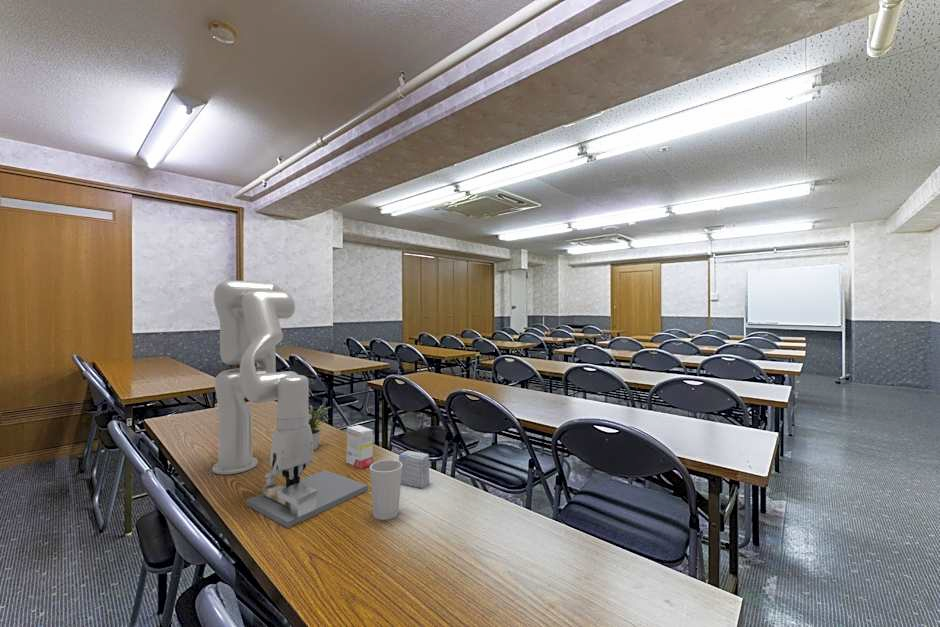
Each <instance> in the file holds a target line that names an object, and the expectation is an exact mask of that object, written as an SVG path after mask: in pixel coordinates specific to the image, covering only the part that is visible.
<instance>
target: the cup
mask: <svg viewBox="0 0 940 627" xmlns="http://www.w3.org/2000/svg"><path fill="white" fill-rule="evenodd" d="M369 471H370V472H369V474H370V484H371V497H372V498H371V499H372V500H371V501H372V513H373V514H372V516H373V517H374V519H376V520H380V521H386V520H387V521H388V520H391V519H394V518H396V517H397V516H398V515H399V514H398V513H400V499H401V498H400V497H401V496H400V495H401V485H402V484H401V475H402V463H401V462H399V460H397V459H396V460H395V459H383V460H377V461H375V462H373V464H371V465H370V466H369Z"/></svg>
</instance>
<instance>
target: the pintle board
mask: <svg viewBox="0 0 940 627" xmlns="http://www.w3.org/2000/svg"><path fill="white" fill-rule="evenodd" d="M272 472H273V471H271V472H268V473H265V475H264V478H265V479H266V484H267V486H271V485H273V484H274V483H275V482H274V481H275V480H274V478H275V477H276V476H275V475H273V474H272ZM300 483H302V484H304V485H306V486H309V487H311V488H313V489H316V490H318V497H316V509H315V510H313V511H311V512H308V513H306V514H304V515H302V516H300V517H296V516H294V515H292V514H291V508H289V507H287V506H285V505H284V504H282V503H279V502H277V501H275V500H273V499H271V498H269V497H267V496H263V493H260V494H258V495H255V496H252V497H249V498H247V499H245V505H247V506H246V507H248V506H249V507H248V508H250V507H251V508H250V509H252V508H253V509H254V511H255V510H256V511H255V512H257V511H258V512H257V513H259V512H260V513H259V514H261V515H263V516H264V515H265V517H266V518H268V519H270V520H272V521H274V522H276V523H277V524H280V525H281V526H283V527H285V528H287V529H290V528H291V526H292V527H294V526H296V525H298V524H301V523H302V522H304V520H305V521H306V519H307V520H308V519H311V518H313V517H316V516H317V515H319V514H321V513H324V512H326V511H328V510H330V509H332V508H334V507H336V506H338V505H341V504H343V503H345V502H347V501H349V500H351V499H354V498H355V497H357V496H359V494H360V495H362V494H364V493H366V492H368V490H369V485H368V484H366V483H362V482H360V481H357V480H355V479H352V478H349V477H346V476H343V475H340V474H338V473H335V472H334V471H333V472H332V471H330V470H327V469H324V470H322V471H319V472H316V473H314V474H311V475H308V476H305V477H304V478H300ZM281 486H282V487H284V488H286V484H285V485H281ZM363 492H364V493H363ZM361 493H362V494H361ZM253 509H252V510H253ZM301 521H302V522H301ZM297 523H298V524H297ZM295 524H296V525H295ZM293 525H294V526H293ZM289 527H290V528H289Z"/></svg>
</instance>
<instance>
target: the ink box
mask: <svg viewBox="0 0 940 627" xmlns="http://www.w3.org/2000/svg"><path fill="white" fill-rule="evenodd" d="M373 442H374V430H373V429H371V428H368V427H365V426H363V425H359V424H358V425H353V426H347V427H346V455H345V456H346V459H345V460H346V463H347V464H348V463H349V465H350V466H354V467H357V468H358V469H364V468H367V467H370V465H371V464H373V463H374V462H373V460H374V459H373V458H374V457H373V454H374V450H373V449H374V443H373Z"/></svg>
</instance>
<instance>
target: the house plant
mask: <svg viewBox="0 0 940 627" xmlns="http://www.w3.org/2000/svg"><path fill="white" fill-rule="evenodd" d="M309 406H310V407H309ZM309 406H308V414H311V415H312V418H311V419H309V423H308V424H309V425H310V427H311V431H312V437H313V451H315V450H314V449H316V448H317V449H319V441H320V436H321V429H319V428H320V426H321V425H322V424H323V423H324V422H326V421H328V418H326V419H321V417H322V416H323V415H325V414H326V413H327V411H325V410H326V409H330V408H331V406H328V407H324V408H323V409H322V407H323V406H324V404H323V405H320V406H319V407H318V408H317V409H316V411H315V410H314V409H313V408H314V407H313V405H312V404H311V403H309ZM324 411H325V412H324ZM330 419H331V418H329V420H330ZM320 422H321V423H320ZM317 449H316V450H317Z"/></svg>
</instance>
